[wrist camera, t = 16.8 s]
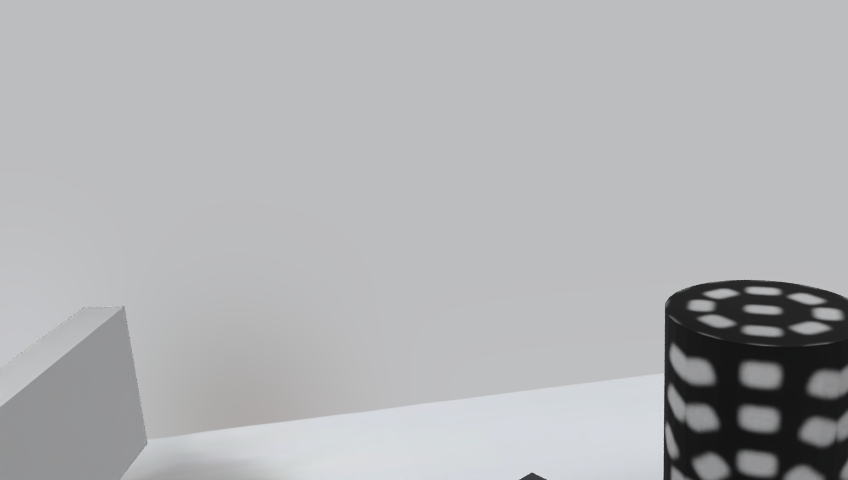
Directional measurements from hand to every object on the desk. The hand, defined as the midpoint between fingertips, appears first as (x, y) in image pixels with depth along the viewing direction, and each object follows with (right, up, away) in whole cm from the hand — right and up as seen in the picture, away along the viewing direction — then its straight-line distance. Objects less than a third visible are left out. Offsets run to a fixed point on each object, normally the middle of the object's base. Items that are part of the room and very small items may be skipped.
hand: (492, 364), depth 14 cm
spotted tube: (+15, -20, +27) cm, 37 cm away
